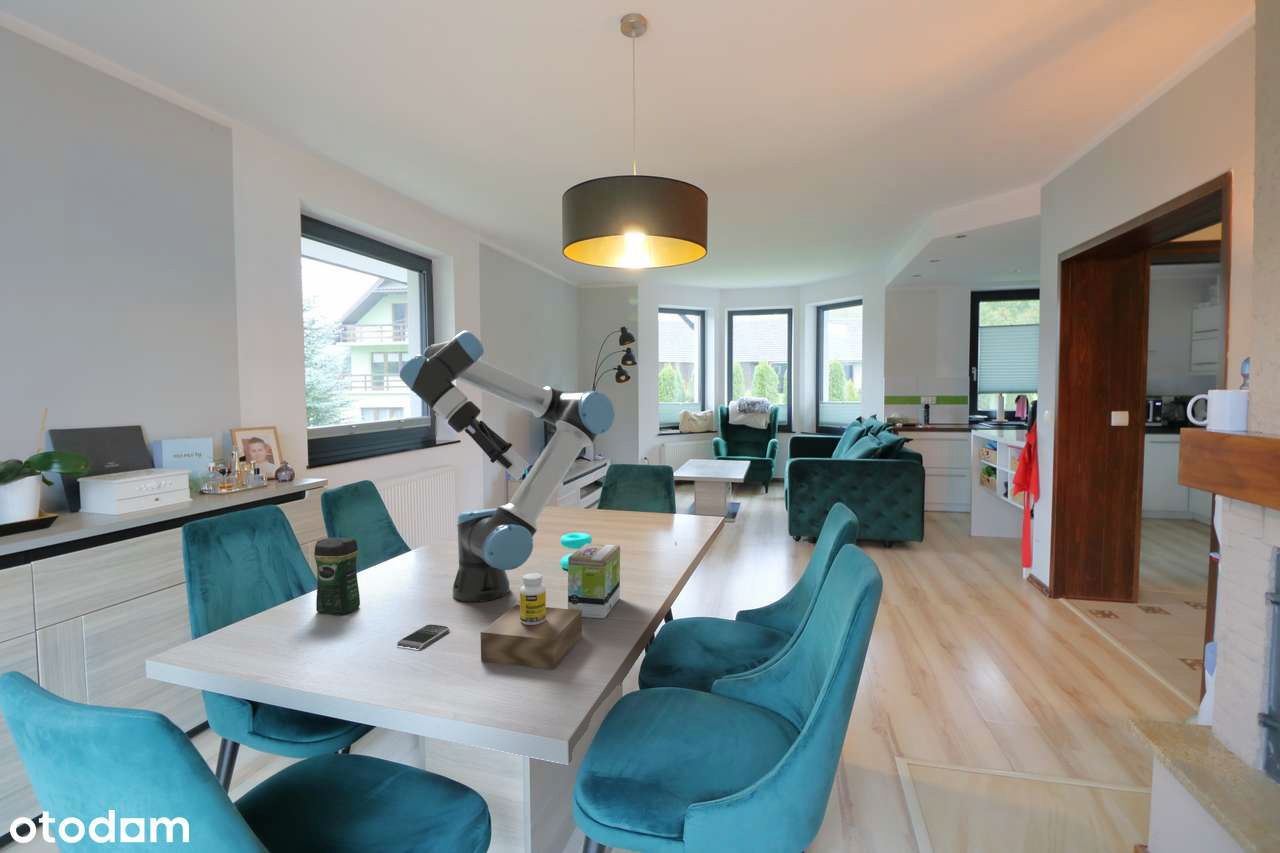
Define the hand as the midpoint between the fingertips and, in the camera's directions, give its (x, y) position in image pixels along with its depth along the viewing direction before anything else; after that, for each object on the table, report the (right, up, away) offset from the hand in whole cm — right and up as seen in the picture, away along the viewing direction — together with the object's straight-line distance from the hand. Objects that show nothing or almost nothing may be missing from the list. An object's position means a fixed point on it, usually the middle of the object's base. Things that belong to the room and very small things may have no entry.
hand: (523, 472), depth 137 cm
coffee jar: (-49, -36, +8) cm, 61 cm away
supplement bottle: (+5, -31, -15) cm, 35 cm away
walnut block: (+5, -36, -15) cm, 40 cm away
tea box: (+16, -35, +9) cm, 40 cm away
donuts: (+8, -34, +44) cm, 56 cm away
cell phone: (-20, -37, -9) cm, 43 cm away
